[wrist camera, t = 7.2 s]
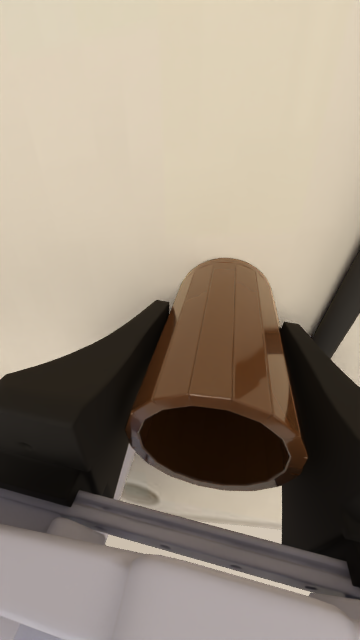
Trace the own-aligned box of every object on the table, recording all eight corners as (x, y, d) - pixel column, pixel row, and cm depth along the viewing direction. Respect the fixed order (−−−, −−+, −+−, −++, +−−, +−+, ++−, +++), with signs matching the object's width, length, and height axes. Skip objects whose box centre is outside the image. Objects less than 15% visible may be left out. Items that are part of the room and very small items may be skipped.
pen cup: (200, 344, 15) (173, 489, 9) (163, 277, 13) (91, 409, 7) (282, 324, 13) (323, 493, 7) (256, 241, 11) (279, 379, 5)
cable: (292, 408, 17) (296, 424, 16) (270, 403, 17) (272, 419, 16) (569, -42, 6) (634, -78, 5) (498, -42, 6) (547, -76, 5)
